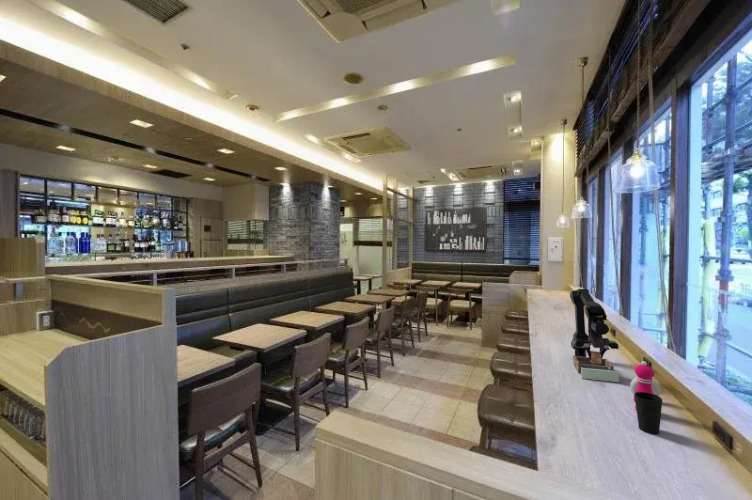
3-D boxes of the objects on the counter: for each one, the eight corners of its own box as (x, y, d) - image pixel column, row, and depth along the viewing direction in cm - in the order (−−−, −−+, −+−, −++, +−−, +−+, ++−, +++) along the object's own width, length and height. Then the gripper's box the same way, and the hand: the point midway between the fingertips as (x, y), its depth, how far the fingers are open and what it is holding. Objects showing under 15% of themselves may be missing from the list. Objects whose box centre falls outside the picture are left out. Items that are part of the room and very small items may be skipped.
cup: (665, 438, 111) (664, 403, 111) (636, 432, 115) (636, 398, 115) (660, 427, 117) (659, 394, 117) (633, 422, 121) (632, 390, 121)
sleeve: (573, 365, 180) (573, 356, 180) (606, 368, 175) (606, 358, 175) (578, 373, 169) (578, 363, 169) (613, 376, 164) (613, 366, 164)
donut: (659, 400, 137) (659, 377, 137) (661, 404, 134) (661, 380, 134) (629, 396, 142) (629, 373, 142) (631, 399, 139) (630, 375, 139)
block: (591, 363, 165) (591, 353, 165) (589, 360, 169) (589, 350, 169) (601, 363, 164) (601, 354, 164) (599, 361, 167) (598, 351, 167)
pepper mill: (651, 418, 124) (650, 365, 124) (629, 410, 130) (628, 360, 130) (661, 413, 127) (659, 362, 127) (639, 405, 133) (638, 357, 133)
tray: (576, 369, 173) (576, 360, 173) (611, 373, 167) (611, 363, 167) (582, 378, 162) (581, 368, 162) (619, 382, 156) (619, 371, 156)
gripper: (577, 332, 162) (577, 363, 162) (622, 335, 155) (622, 367, 155) (572, 327, 173) (573, 356, 173) (614, 329, 166) (615, 360, 166)
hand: (595, 360), depth 166 cm, fingers closed on block, 4 cm apart
